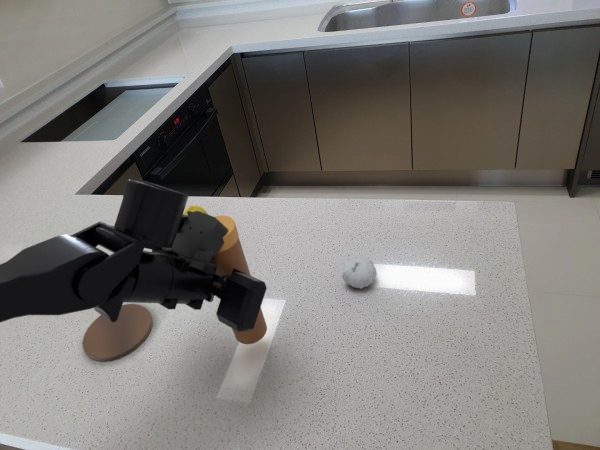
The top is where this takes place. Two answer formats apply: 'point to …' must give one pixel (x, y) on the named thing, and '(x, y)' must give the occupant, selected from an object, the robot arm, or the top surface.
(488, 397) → the top surface
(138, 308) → the round brown plate
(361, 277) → the garlic
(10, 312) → the robot arm
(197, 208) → the lemon
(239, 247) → the orange cylinder
